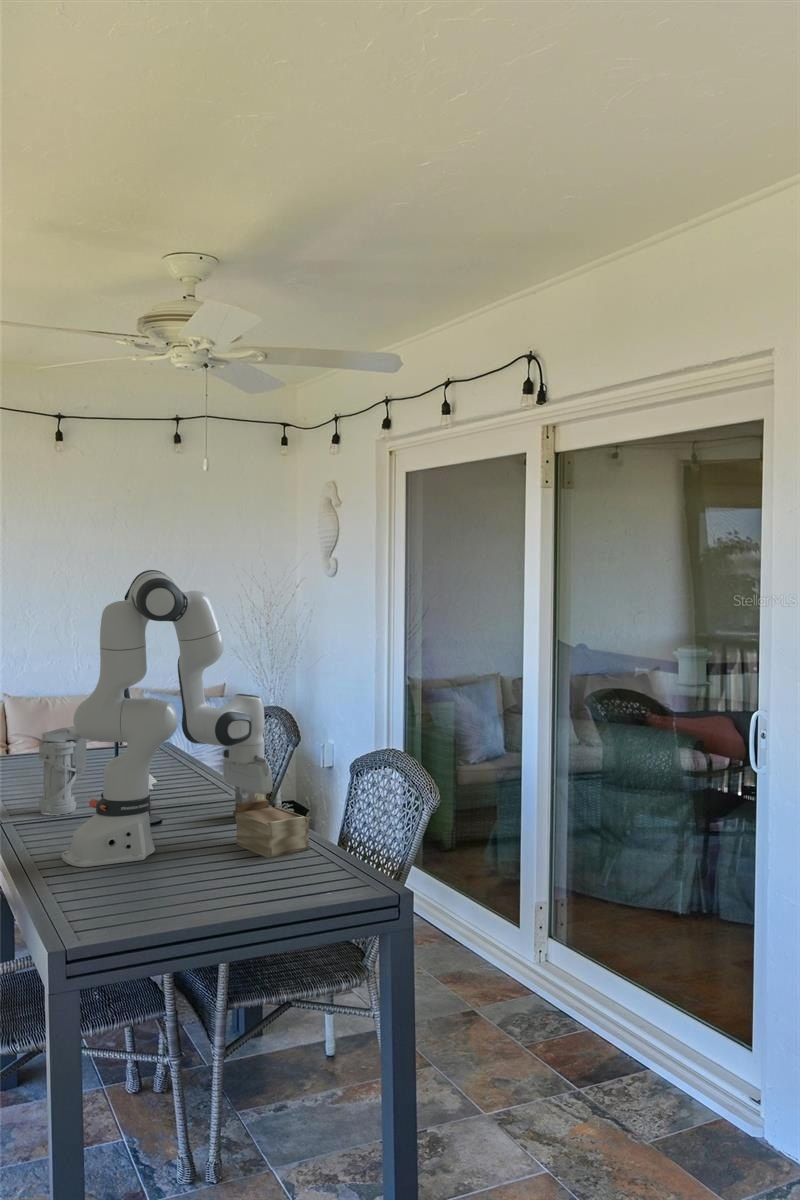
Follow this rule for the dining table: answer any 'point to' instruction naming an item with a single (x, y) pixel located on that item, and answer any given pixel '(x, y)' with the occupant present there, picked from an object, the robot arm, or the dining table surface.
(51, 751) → the lantern
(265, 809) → the lid
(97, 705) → the robot arm
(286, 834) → the crate
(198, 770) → the dining table surface
